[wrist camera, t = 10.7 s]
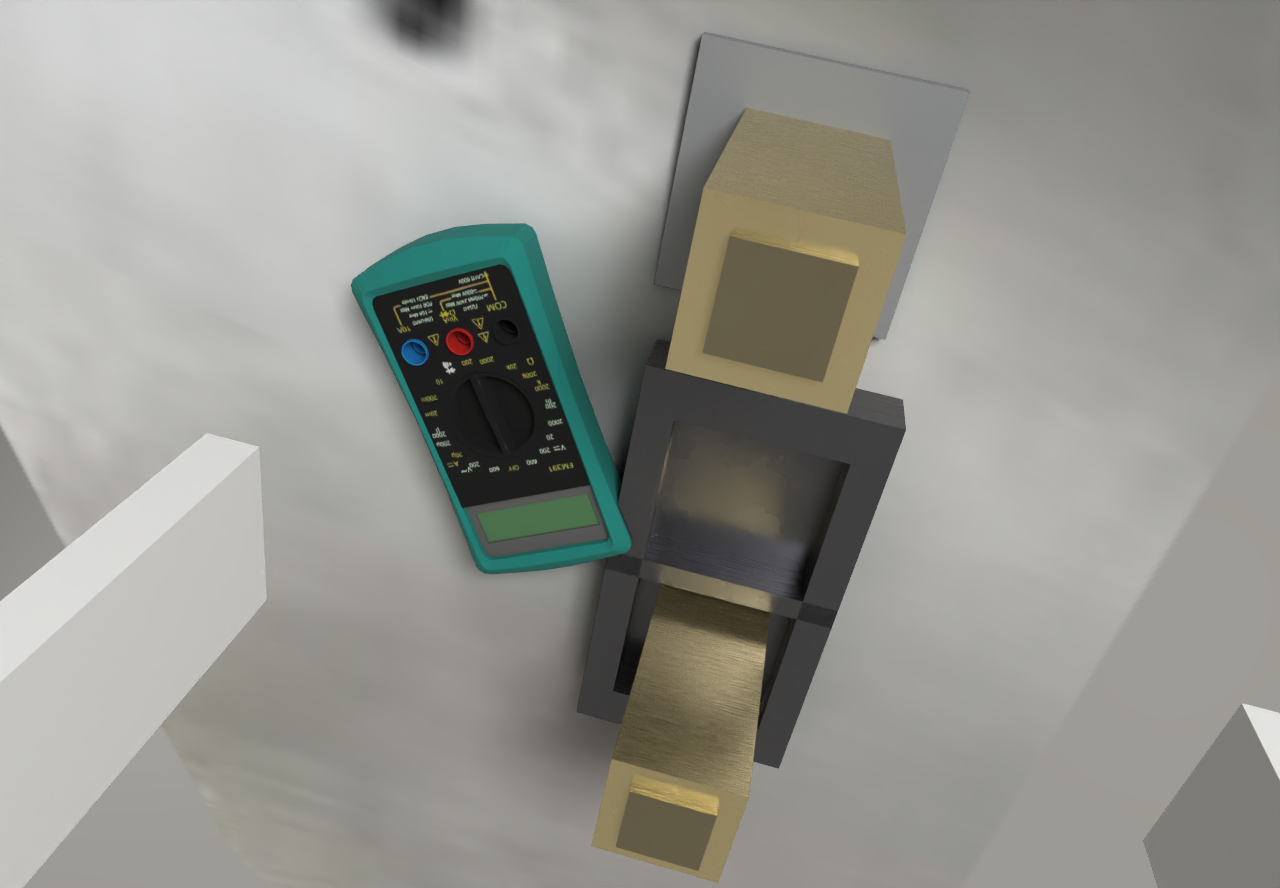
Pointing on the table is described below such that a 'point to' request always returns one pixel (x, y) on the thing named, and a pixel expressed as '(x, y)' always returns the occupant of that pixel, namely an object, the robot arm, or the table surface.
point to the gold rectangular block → (687, 736)
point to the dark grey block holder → (740, 527)
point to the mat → (821, 95)
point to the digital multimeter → (497, 396)
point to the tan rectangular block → (790, 260)
